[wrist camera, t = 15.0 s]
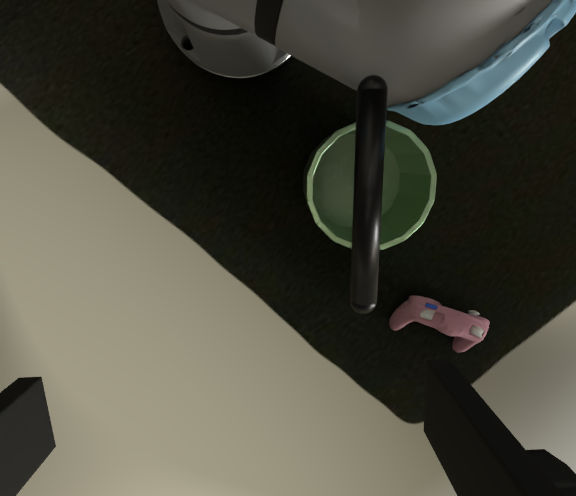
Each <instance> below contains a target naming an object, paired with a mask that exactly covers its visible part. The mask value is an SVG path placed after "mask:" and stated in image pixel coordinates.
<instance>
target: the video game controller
mask: <svg viewBox="0 0 576 496" xmlns="http://www.w3.org/2000/svg"><path fill="white" fill-rule="evenodd" d="M468 313H470V314H466V313H462V312H460V311H457V310H454V309H451V308H447V307H444V306H441V304H440V303H439V302H437V301H435V300H433V299H430V298H426V297H422V296H409V299H408V300H407V301H405V302H404V303H402V304H401V305H400V306H399V307H398V308H397V309H396V310H395V311H394V312H393V314H392V316H391V317H390V320H389V324H390V328H391V329H392V330H399V329H401V328H402V327H404V326H405V325H406V324H408V323H410V322H413V321H417V322H419V323H422V324H424V325H427V326H430V327H433V328H436V329H437V330H438V331H440V332H442V333H443V334H446V335H448V336H455V338H454V339H453V343H452V347H453V349H454V350H455V351H456V352H464V351H466V350H467V349H469V348H470V347H472V346H473V345H475V344H477V343H479V342H481V341H482V340H483V339H484V337H485V336H486V333H487V331H488V328H489V321H488V320H487V319H485V318H482V317H479V316H478V315H480V313H478V312H477V311H475V310H470V311H468Z"/></svg>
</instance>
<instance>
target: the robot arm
mask: <svg viewBox="0 0 576 496" xmlns="http://www.w3.org/2000/svg"><path fill="white" fill-rule="evenodd" d="M157 2H158V7H159V11H160V14H161V18H162V20H163V23H164V25H165V27H166V29H167V31H168V33H169V35H170V37H171V38H172V40H173V41H174V43H175V44H176V45H177V47H178V48H179V49H180V50H181V51H182V52H183V53H184V54H185V55H186V56H187V58H189V59H190V60H191V61H192V62H193V63H194V64H195V65H197V66H198V67H199V68H201V69H202V70H204V71H206V72H207V73H210V74H212V75H214V76H216V77H219V78H223V79H227V80H233V81H249V80H255V79H259V78H262V77H265V76H267V75H270V74H272V73H273V72H275V71H277V70H278V69H280V68H281V67H283V66H284V65H285V64H286V63H288V62H289V61H290V60H291V59H292V58H293V57H295V58H297V59H299V60H300V61H302V62H304V63H306V64H308V65H310V66H312V67H313V68H315V69H317V70H319V71H321V72H323V73H324V74H326V75H328V76H330V77H332V78H334V79H336V80H337V81H339V82H341V83H343V84H345V85H347V86H349V87H350V88H352V89H354V90H356V91H357V88H358V85H359V83H360V82H361V81H362V80H363V79H364V78H365V77H367V76H369V75H378V76H380V77H382V78H383V79H384V80H385V81H386V84H387V87H388V95H387V110H389V111H395V112H398V113H400V114H402V115H404V116H406V117H408V118H410V119H412V120H414V121H416V122H419V123H421V124H428V125H444V124H448V123H452V122H455V121H457V120H460V119H462V118H464V117H467V116H469V115H470V114H472V113H474V112H476V111H477V110H479V109H481V108H482V107H484V106H485V105H487V104H488V103H489V102H491V101H492V100H493V99H495V98H496V97H498V96H499V95H500V94H502V93H503V92H504V91H505V90H506V89H508V88H509V87H510V86H511V85H512V84H513V83H515V82H516V81H517V80H518V79H519V78H520V77H521V76H522V75H523V74H524V73H525V72H526V71H527V70H529V69H530V68H531V67H532V65H533V64H534V63H535V62H536V61H537V60H538V59H539V58H540V57H541V56H542V55H543V54H544V53H545V51H546V50H547V49H548V48H549V46H550V43H549V39H550V37H552V36H553V35H554V34H555V33H556V32H558V31H559V30H561V29H562V28H564V27H565V26H566V25H567V24H568V23H569V21H570V20H571V18H572V17H573V16H574V14H575V13H576V0H157ZM424 432H425V434H426V436H427V438H428V440H429V442H430V444H431V446H432V448H433V450H434V451H435V453H436V455H437V457H438V459H439V461H440V463H441V465H442V467H443V469H444V470H445V473H446V474H447V476H448V478H449V480H450V482H451V484H452V486H453V488H454V490H455V492H456V494H457V496H576V474H575V473H574V472H573V471H572V470H571V469H570V467H569V466H568V465H567V464H565V463H564V462H562V461H561V460H559V459H558V458H556V457H555V456H553V455H552V454H550V453H549V452H547V451H546V450H544V449H543V450H542V449H540V450H525V449H524V448H523V446H521V444H520V443H519V442H518V440H517V439H516V438H515V437H514V436H513V435H512V433H511V432H510V431H509V430H508V429H507V428H506V426H505V425H504V424H503V423H502V421H501V420H500V419H499V418H498V417H497V416H496V415H495V413H494V412H493V411H492V410H491V409H490V408H489V406H488V405H487V404H486V403H485V401H484V400H483V399H482V398H481V397H480V395H479V394H478V393H477V392H476V391H475V389H474V388H473V387H472V386H471V385H470V383H469V382H468V381H467V380H466V379H465V378H464V376H463V375H462V374H461V373H460V372H459V370H458V369H457V368H456V367H455V366H454V364H453V363H452V362H451V361H450V360H449V359H443V360H427V362H426V387H425V411H424ZM55 447H56V445H55V440H54V436H53V431H52V426H51V421H50V416H49V411H48V406H47V402H46V397H45V392H44V387H43V382H42V378H41V377H28V378H27V377H26V378H18V379H17V380H16V381H14V382H13V383H12V384H11V385H9V386H8V387H7V388H6V389H4V390H3V391H2V392H1V393H0V496H16V495H17V494H18V492H19V491H20V490H21V488H22V487H23V486H24V485H25V484H26V482H27V481H28V480H29V478H31V476H32V475H33V474H34V473H35V471H36V470H37V469H38V468H39V466H40V465H41V464H42V463H43V462H44V460H45V459H46V458H47V457H48V455H49V454H50V453H51V452H52V450H53V449H54V448H55Z"/></svg>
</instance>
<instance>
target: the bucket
mask: <svg viewBox="0 0 576 496" xmlns="http://www.w3.org/2000/svg"><path fill="white" fill-rule="evenodd" d="M387 95H388V87H387V84H386V81H385V80H384V79H383V78H382V77H380V76H378V75H369V76H367V77H365V78H364V79H363V80H362V81H361V82H360V83H359V85H358V88H357V105H356V123H353V124H351V125H349V126H346V127H344V128H342V129H339V130H337V131H336V132H334V133H332V134H331V135H329V136H328V137H326V138H325V139H324V140H323V141H322V142H321V143H320V144H319V145H318V146H317V147H316V148H315V149H314V150H313V151H312V152H311V154H310V156H309V158H308V161H307V163H306V166H305V168H304V172H303V193H304V195H305V198H306V201H307V203H308V206H309V208H310V210H311V213H312V215H313V218H314V220H315V223H316V224H317V226H318V227H319V228H320V229H322V230H323V231H324V232H325V233H326V234H327V235H328V236H329V237H330V238H331V239H332V240H333V241H334V242H336V243H339V244H341V245H344V246H346V247H349V248H351V249H352V251H351V280H350V304H351V306H352V308H353V309H354V310H355V311H357V312H359V313H363V314H365V313H369V312H371V311H372V310H373V309H374V308H375V306H376V303H377V289H378V269H379V250H380V249H381V250H383V249H385V248H388V247H390V246H393V245H395V244H398V243H400V242H403V240H406V239H407V238H408V237H409V236H410V235H411V234H412V233H413V232H414V231H416V230H417V229H418V228H419V227H420V226H421V225H422V223H424V221H425V219H426V217H427V215H428V213H429V211H430V209H431V207H432V205H433V203H434V200H435V190H436V178H437V175H436V170H435V167H434V164H433V161H432V158H431V155H430V152H429V151H428V148H427V147H426V146H425V145H424V144H423V143H422V142H421V141H420V139H419V138H418V137H417V136H416V135H415V134H414V133H413V132H412V131H411V130H409V129H407V128H404V127H402V126H400V125H398V124H395V123H393V122H391V121H387V120H386V115H387Z"/></svg>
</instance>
